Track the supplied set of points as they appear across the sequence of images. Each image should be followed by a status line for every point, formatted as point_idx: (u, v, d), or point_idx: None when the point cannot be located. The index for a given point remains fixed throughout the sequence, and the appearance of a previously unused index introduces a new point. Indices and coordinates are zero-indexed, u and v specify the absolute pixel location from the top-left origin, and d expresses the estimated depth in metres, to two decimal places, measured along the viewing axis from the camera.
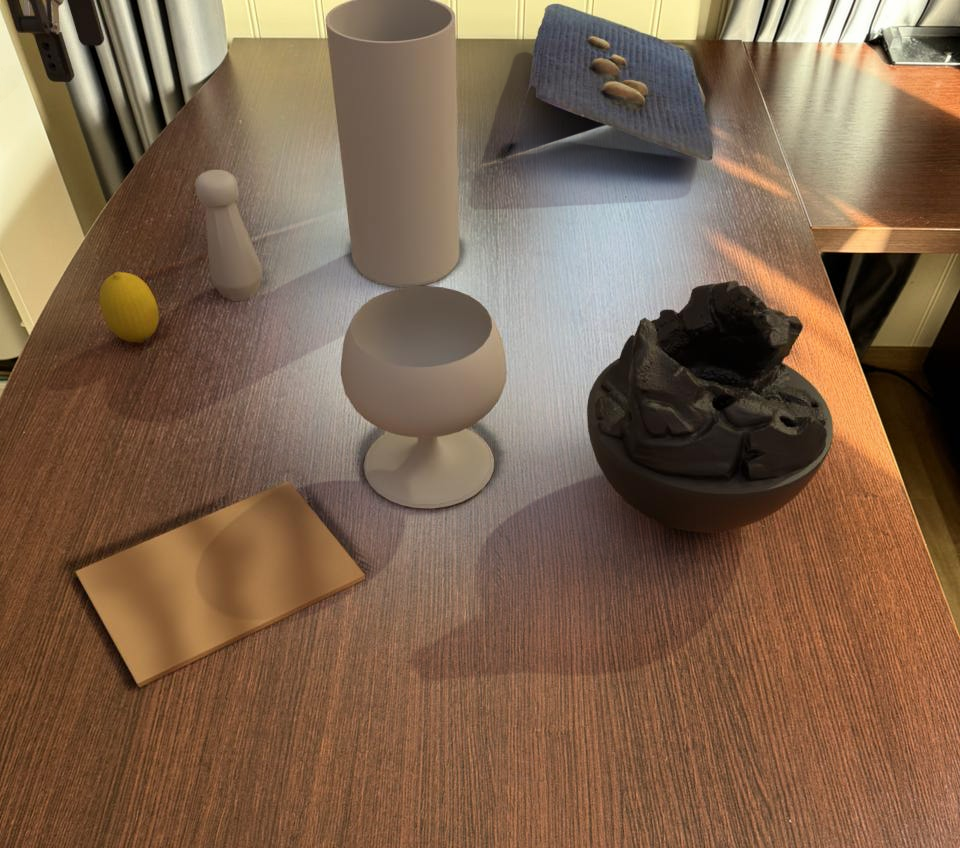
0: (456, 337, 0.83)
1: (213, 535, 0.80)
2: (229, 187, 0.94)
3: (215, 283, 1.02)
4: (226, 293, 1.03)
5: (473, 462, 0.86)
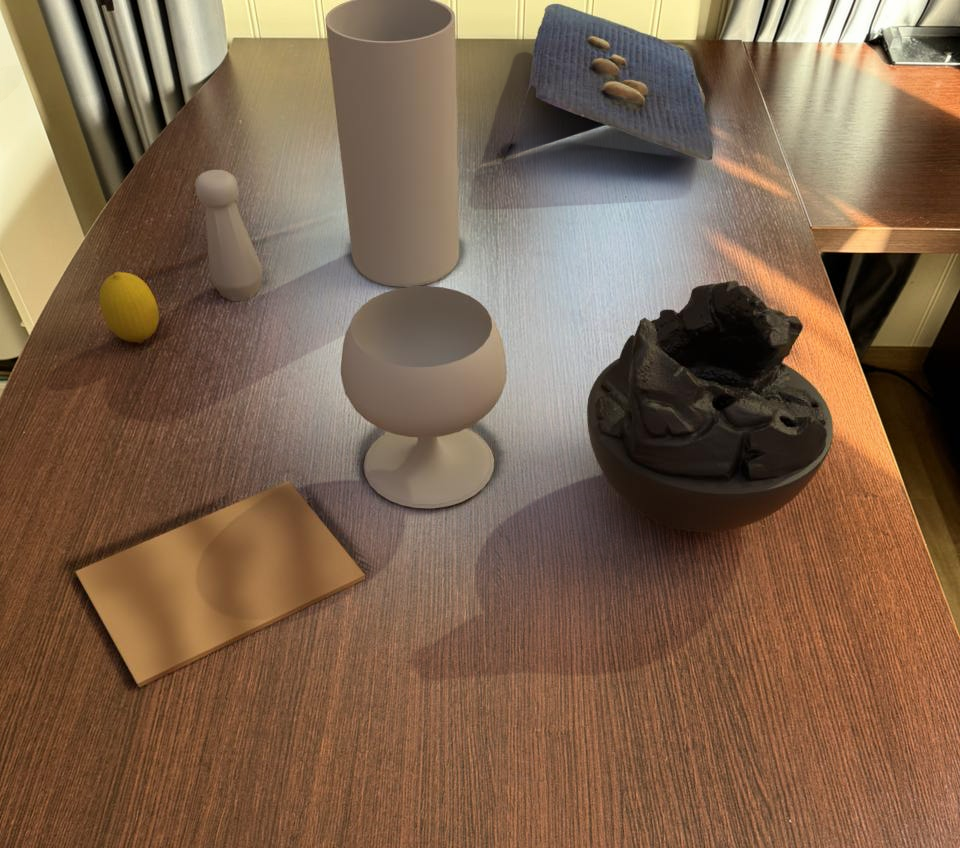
0: (456, 337, 0.83)
1: (213, 535, 0.80)
2: (229, 187, 0.94)
3: (215, 283, 1.02)
4: (226, 293, 1.03)
5: (473, 462, 0.86)
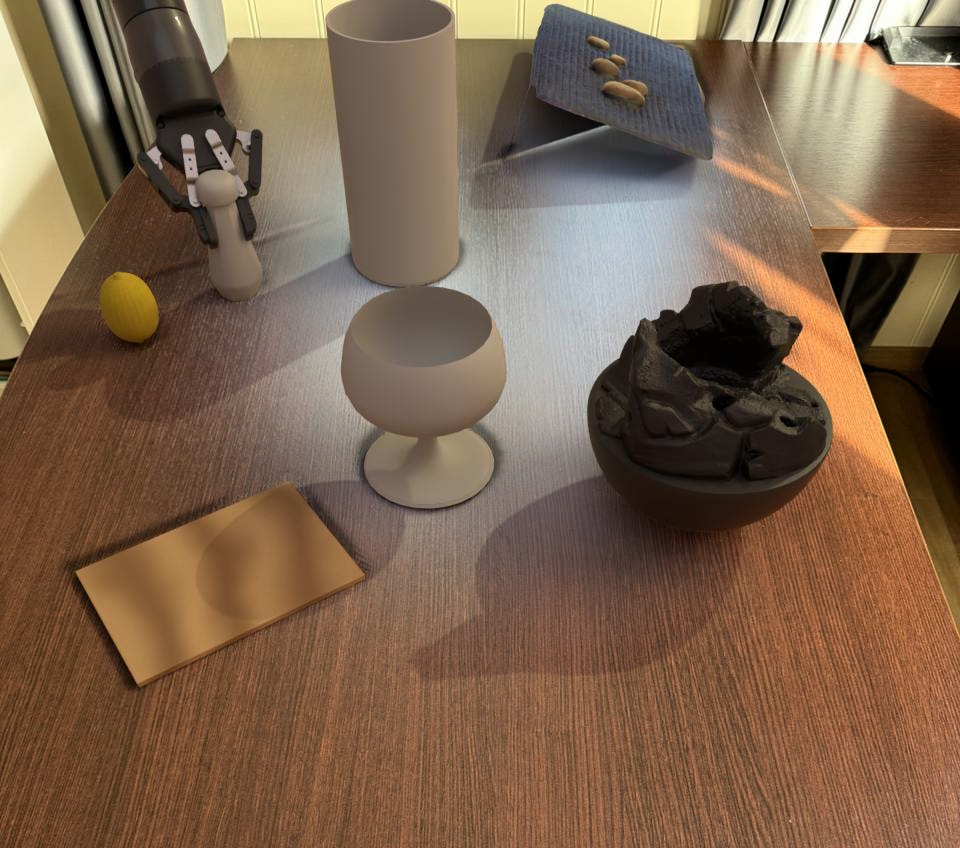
0: (456, 337, 0.83)
1: (213, 535, 0.80)
2: (230, 187, 0.94)
3: (215, 283, 1.02)
4: (226, 293, 1.03)
5: (473, 462, 0.86)
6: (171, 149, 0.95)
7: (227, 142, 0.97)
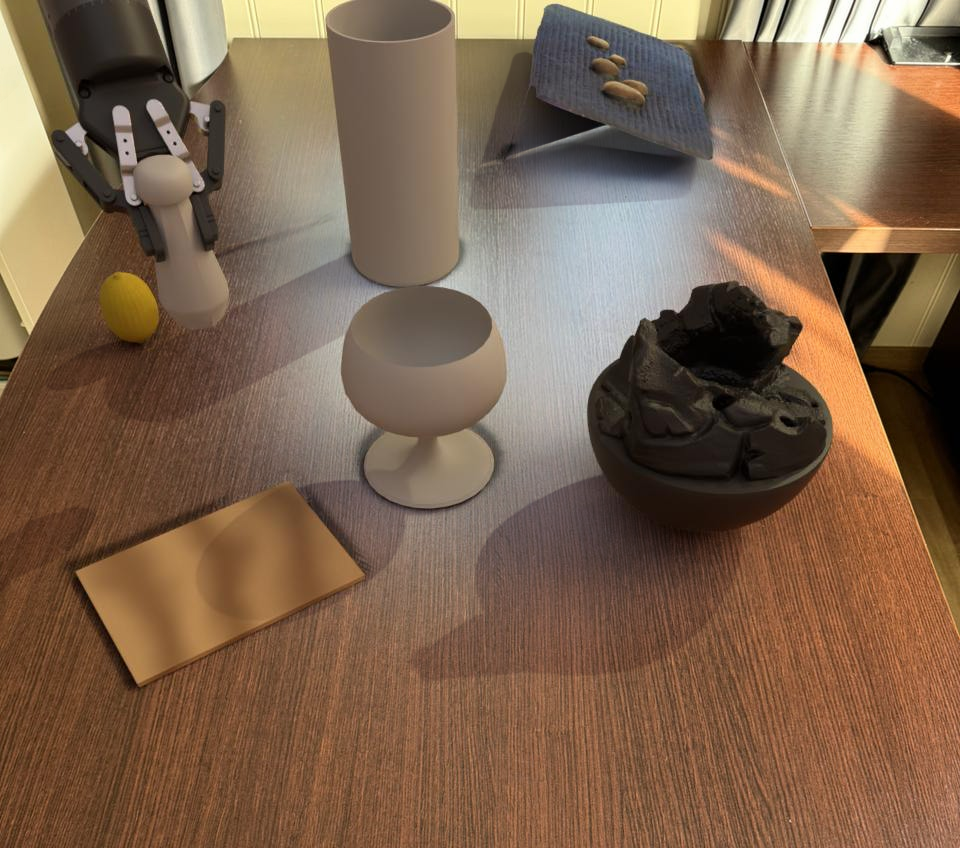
0: (456, 337, 0.83)
1: (213, 535, 0.80)
2: (180, 179, 0.69)
3: (166, 307, 0.76)
4: (181, 320, 0.77)
5: (473, 462, 0.86)
6: (99, 126, 0.69)
7: (177, 117, 0.71)
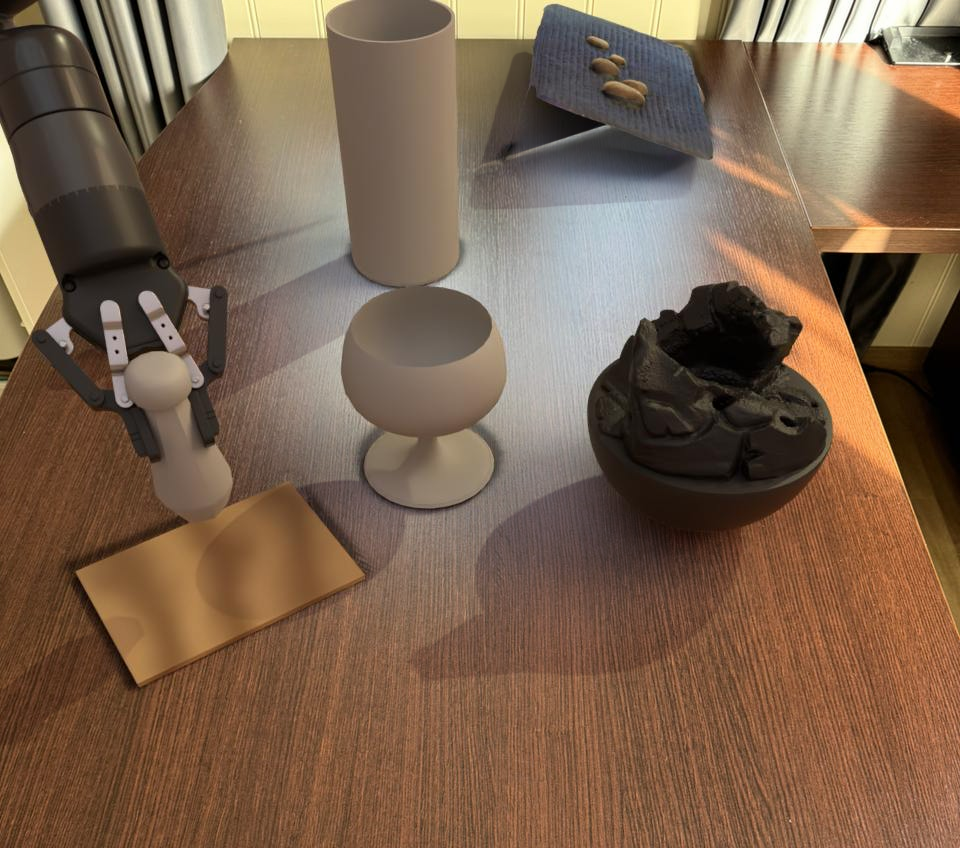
0: (456, 337, 0.83)
1: (213, 535, 0.80)
2: (177, 383, 0.61)
3: (163, 503, 0.69)
4: (180, 514, 0.70)
5: (473, 462, 0.86)
6: (86, 322, 0.62)
7: (173, 307, 0.63)
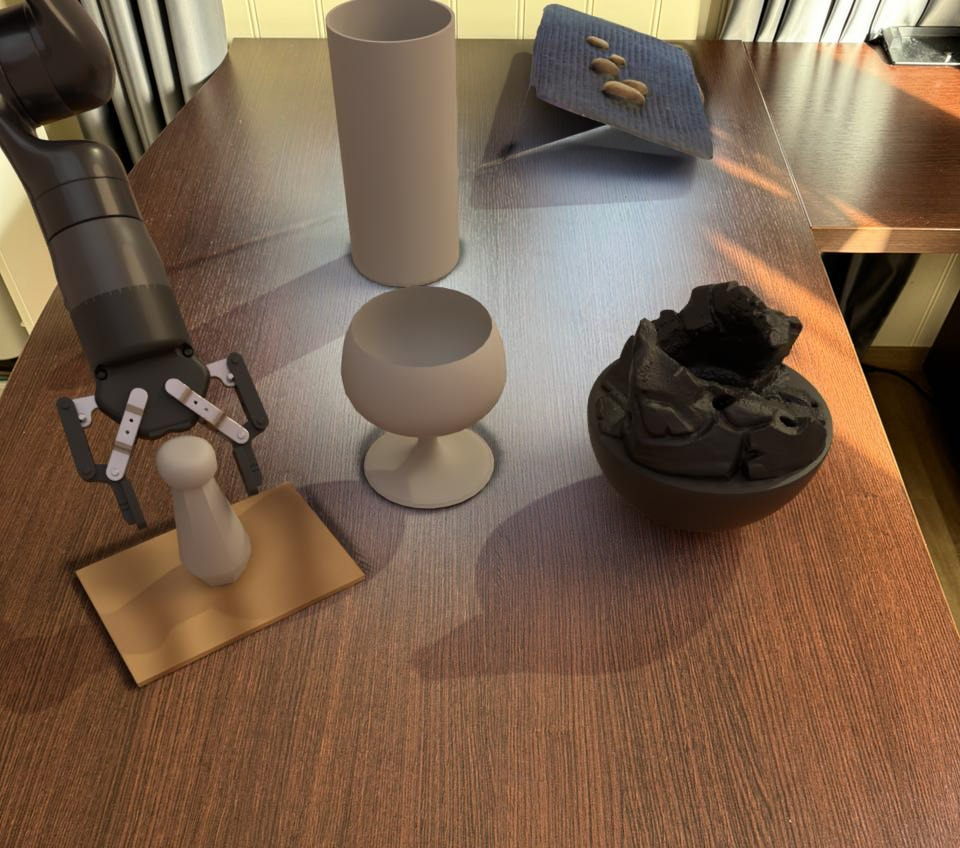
0: (456, 337, 0.83)
1: None
2: (204, 465, 0.68)
3: (187, 569, 0.75)
4: (202, 579, 0.76)
5: (473, 462, 0.86)
6: (117, 407, 0.67)
7: (204, 389, 0.69)
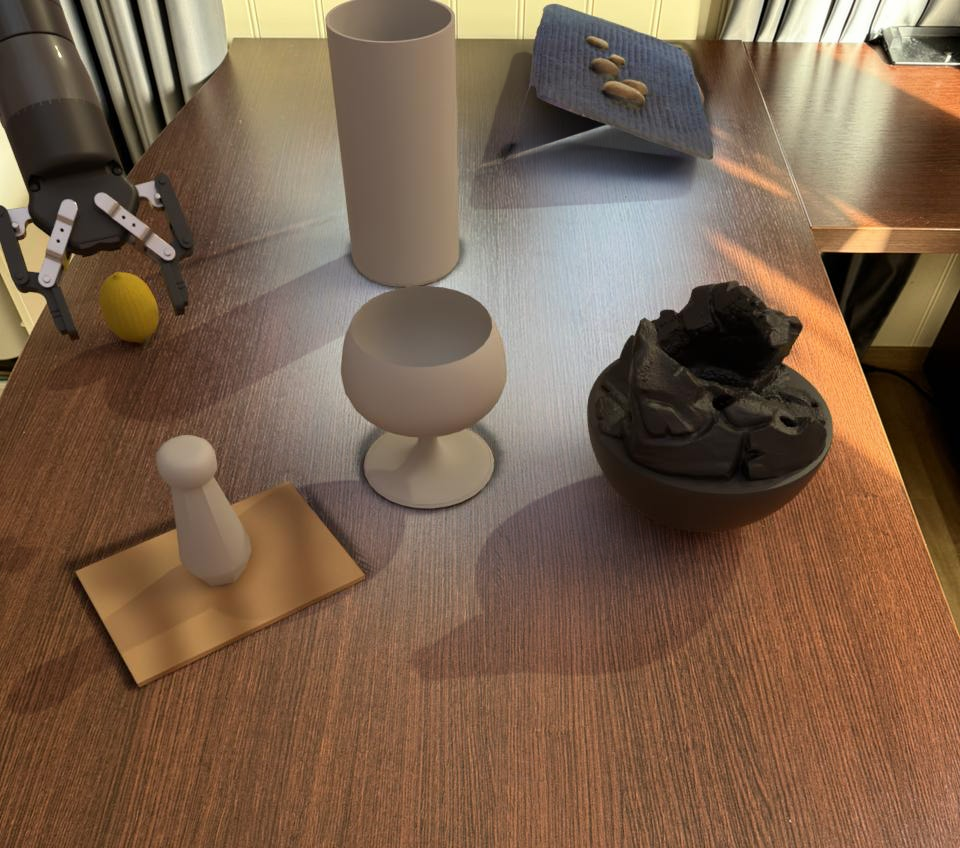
0: (456, 337, 0.83)
1: None
2: (204, 465, 0.68)
3: (187, 569, 0.75)
4: (202, 579, 0.76)
5: (473, 462, 0.86)
6: (49, 218, 0.72)
7: (133, 207, 0.74)
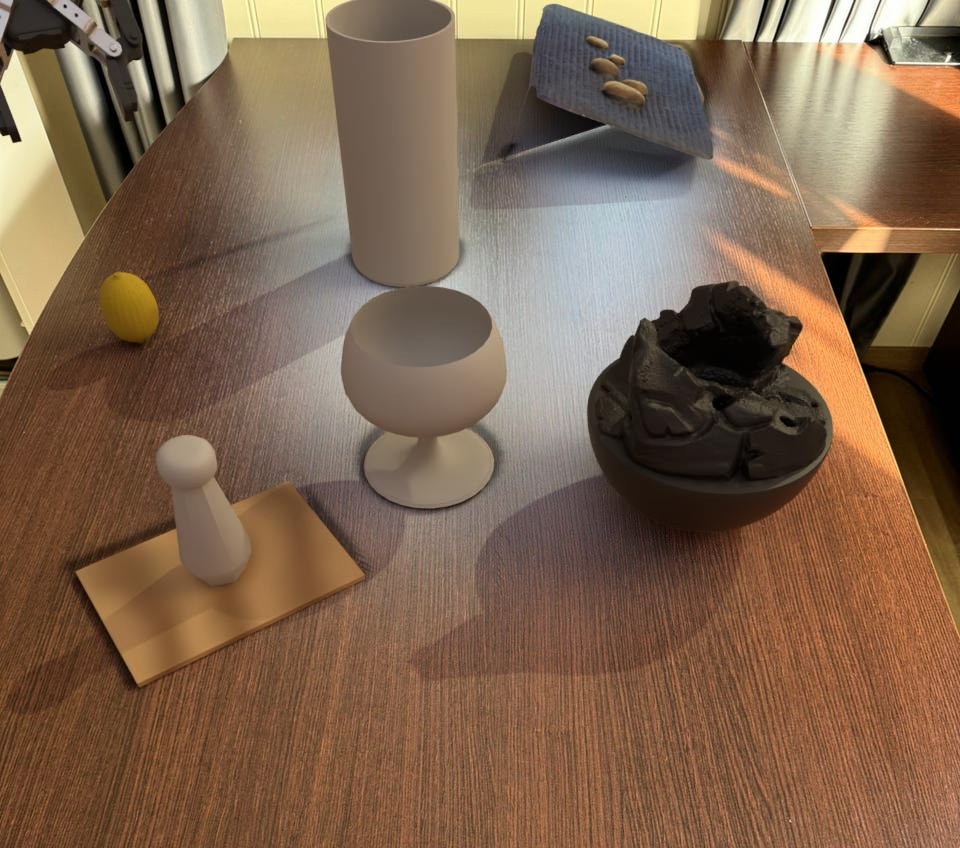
0: (456, 337, 0.83)
1: None
2: (205, 465, 0.68)
3: (187, 569, 0.75)
4: (202, 579, 0.76)
5: (473, 462, 0.86)
6: None
7: None
